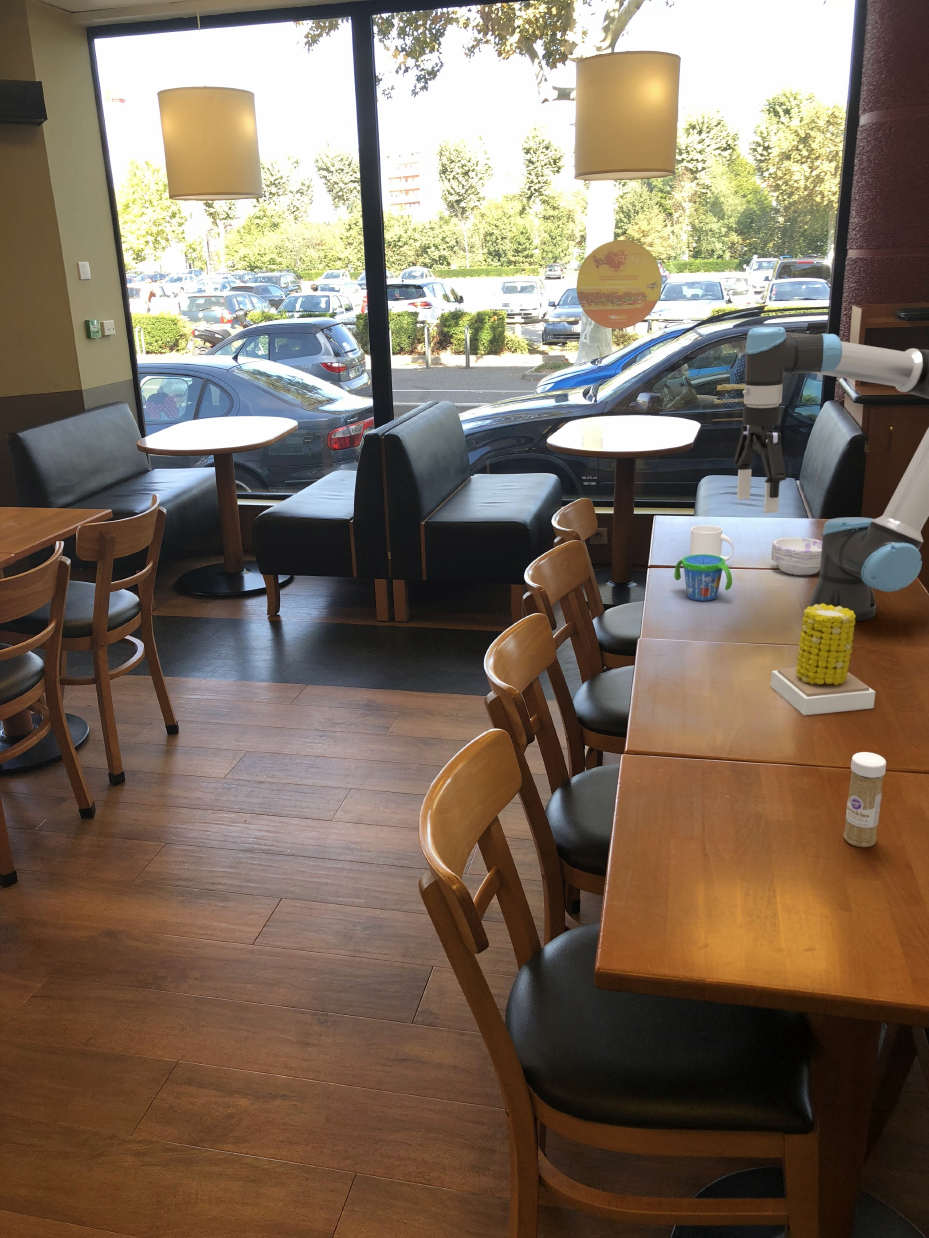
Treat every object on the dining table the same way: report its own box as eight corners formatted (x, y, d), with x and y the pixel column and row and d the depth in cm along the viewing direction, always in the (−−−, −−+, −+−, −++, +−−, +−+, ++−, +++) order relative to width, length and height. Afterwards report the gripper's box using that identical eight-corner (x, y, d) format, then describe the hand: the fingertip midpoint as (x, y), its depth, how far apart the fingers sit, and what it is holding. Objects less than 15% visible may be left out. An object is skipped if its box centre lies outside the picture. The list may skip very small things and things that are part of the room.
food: (788, 688, 188) (814, 675, 195) (847, 691, 179) (871, 677, 186) (779, 611, 186) (805, 601, 193) (838, 610, 177) (863, 599, 184)
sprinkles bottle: (838, 841, 142) (847, 759, 138) (849, 828, 145) (858, 747, 141) (870, 852, 139) (880, 768, 135) (881, 838, 143) (891, 756, 138)
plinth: (836, 679, 197) (837, 661, 196) (873, 708, 184) (875, 688, 183) (770, 686, 195) (772, 668, 194) (803, 715, 182) (805, 695, 181)
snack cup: (664, 595, 252) (665, 557, 249) (690, 586, 258) (691, 549, 255) (714, 609, 241) (716, 569, 237) (739, 599, 247) (742, 561, 243)
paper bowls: (834, 567, 270) (836, 539, 267) (820, 581, 258) (823, 553, 255) (778, 560, 278) (780, 533, 275) (763, 574, 266) (765, 546, 263)
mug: (729, 572, 269) (731, 534, 266) (686, 568, 274) (687, 531, 271) (735, 563, 277) (737, 527, 273) (693, 560, 282) (695, 524, 278)
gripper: (721, 399, 212) (717, 495, 219) (771, 414, 189) (765, 520, 196) (753, 397, 213) (748, 492, 220) (808, 411, 190) (800, 517, 197)
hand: (756, 505), depth 208 cm, fingers open, 13 cm apart
